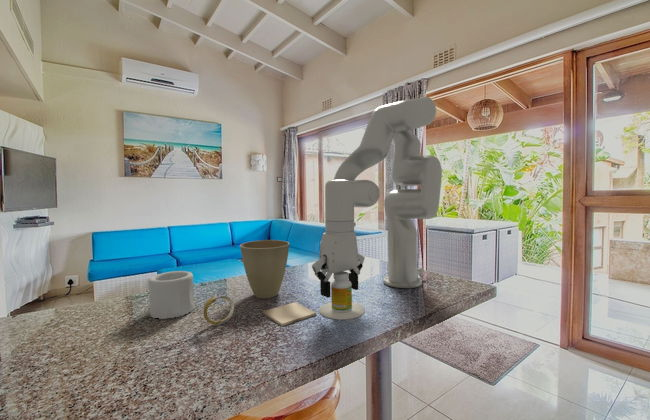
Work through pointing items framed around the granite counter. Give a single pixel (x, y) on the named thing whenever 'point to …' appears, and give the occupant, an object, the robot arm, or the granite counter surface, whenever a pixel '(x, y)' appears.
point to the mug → (171, 294)
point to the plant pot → (265, 265)
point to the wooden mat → (289, 313)
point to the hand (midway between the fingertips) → (339, 292)
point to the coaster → (329, 313)
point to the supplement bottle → (341, 292)
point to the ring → (209, 301)
